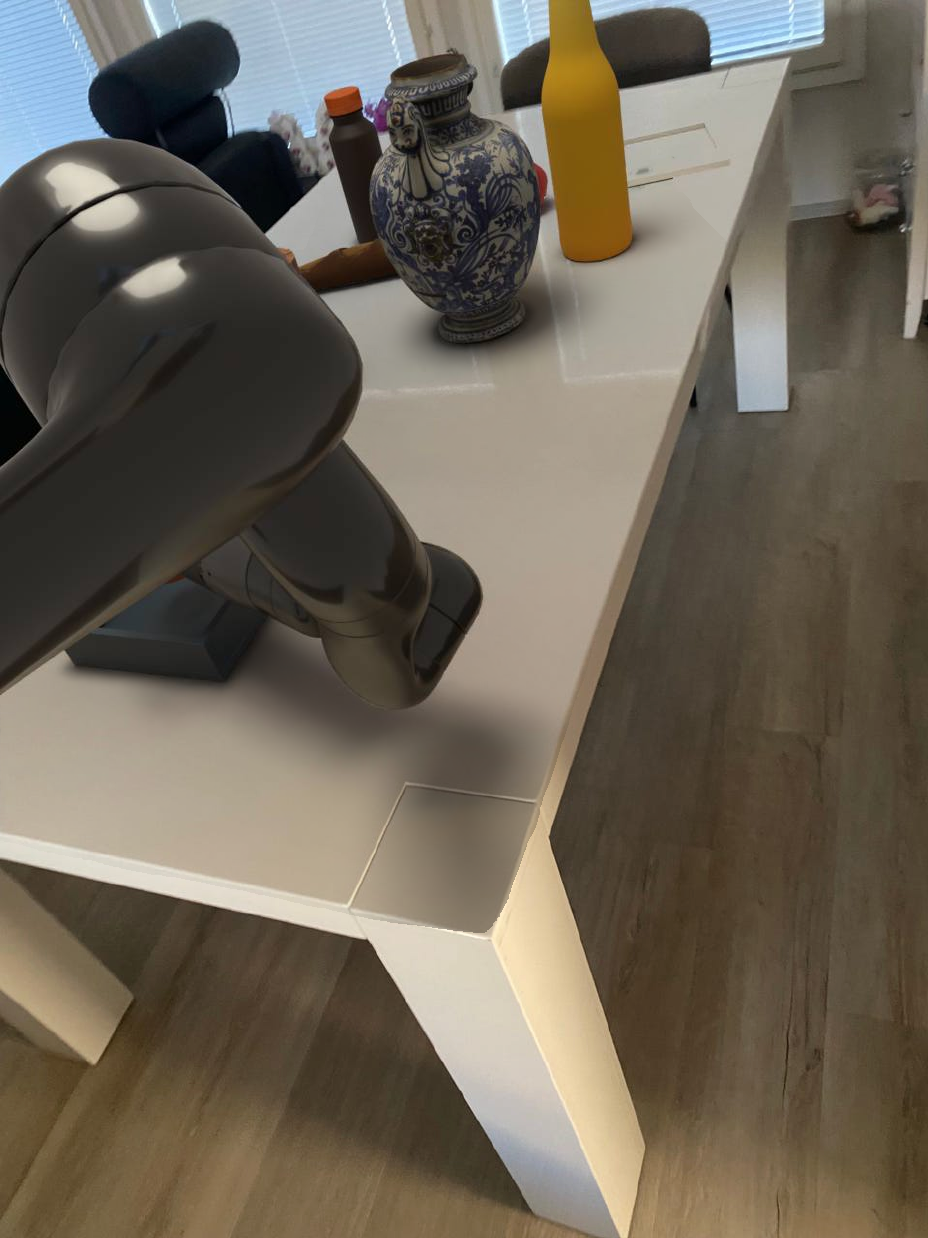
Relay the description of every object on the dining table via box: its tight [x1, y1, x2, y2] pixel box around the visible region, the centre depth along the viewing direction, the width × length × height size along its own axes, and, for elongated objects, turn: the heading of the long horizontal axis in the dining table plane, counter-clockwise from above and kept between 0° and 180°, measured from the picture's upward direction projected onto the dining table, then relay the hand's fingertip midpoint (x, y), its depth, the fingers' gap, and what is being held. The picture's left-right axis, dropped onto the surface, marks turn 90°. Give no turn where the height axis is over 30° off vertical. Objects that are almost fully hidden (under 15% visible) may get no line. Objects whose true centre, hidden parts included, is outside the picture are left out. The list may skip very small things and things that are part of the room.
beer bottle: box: [541, 0, 633, 263], centre depth 114 cm, size 9×9×29 cm
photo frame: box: [624, 123, 731, 188], centre depth 141 cm, size 15×1×18 cm
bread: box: [298, 238, 399, 292], centre depth 130 cm, size 38×5×5 cm, turn 91°
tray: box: [64, 577, 268, 682], centre depth 84 cm, size 17×16×4 cm
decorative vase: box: [369, 46, 542, 344], centre depth 105 cm, size 21×19×28 cm
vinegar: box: [323, 85, 384, 245], centre depth 136 cm, size 7×7×20 cm
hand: (125, 495), depth 79 cm, fingers closed on tumbler, 5 cm apart
